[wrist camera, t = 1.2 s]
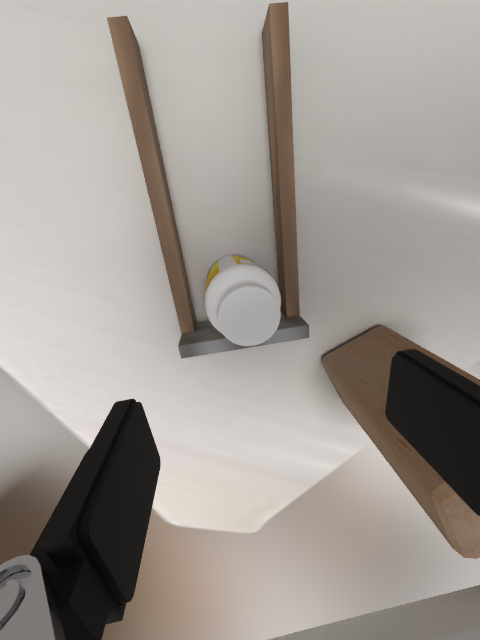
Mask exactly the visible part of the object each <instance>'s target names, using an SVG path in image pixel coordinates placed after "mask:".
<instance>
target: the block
mask: <svg viewBox="0 0 480 640" xmlns="http://www.w3.org/2000/svg"><path fill="white" fill-rule="evenodd" d="M408 349H416V350H418V351H420V352H422V353H424V354H425V355H427V356H429V357H431V358H432V359H434V360H436V361H438V362H439V363H441V364H443V365H445V366H446V367H448V368H450V369H451V370H453V371H455V372H457V373H458V374H460V375H462V376H464V377H465V378H467V379H469V380H471V381H472V382H474V383H476V384H478V385H479V386H480V380H479V379H477V378H476V377H474V376H472V375H470V374H468V373H467V372H465V371H463V370H461V369H460V368H458V367H456V366H454V365H453V364H451V363H449V362H447V361H445V360H444V359H442V358H440V357H438V356H437V355H435V354H433V353H431V352H430V351H428V350H426V349H424V348H422V347H421V346H419V345H417V344H415V343H414V342H412V341H410V340H408V339H406V338H405V337H403V336H401V335H399V334H398V333H396V332H394V331H392V330H391V329H389V328H387V327H385V326H378V327H375V328H373V329H372V330H370V331H368V332H366V333H364V334H362V335H361V336H359V337H357V338H355V339H353V340H352V341H350V342H348V343H346V344H344V345H343V346H341V347H339V348H337V349H335V350H334V351H332V352H330V353H328V354H326V355H325V356H324V357H323V358H322V359H323V365H324V367H325V369H326V371H327V373H328V375H329V377H330V379H331V381H332V382H333V384H334V386H335V388H336V390H337V392H338V394H339V396H340V398H341V400H342V401H343V403H344V404H345V406H346V407H347V408H348V410H349V411H350V412H351V414H352V415H353V416H354V418H355V419H356V420H357V422H358V423H359V424H360V426H361V427H362V428H363V430H364V431H365V432H366V434H367V435H368V436H369V438H370V439H371V440H372V442H373V443H374V444H375V445H376V447H377V448H378V450H379V451H380V452H381V454H382V455H383V456H384V458H385V459H386V460H387V462H388V463H389V464H390V465H391V467H392V468H393V469H394V471H395V472H396V473H397V475H398V476H399V477H400V479H401V480H402V481H403V483H404V484H405V485H406V487H407V488H408V489H409V491H410V492H411V493H412V495H413V496H414V497H415V499H416V500H417V501H418V503H419V504H420V505H421V507H422V508H423V509H424V511H425V512H426V513H427V515H428V516H429V517H430V519H431V520H432V521H433V523H434V524H435V525H436V527H437V528H438V529H439V531H440V532H441V533H442V535H443V536H444V537H445V539H446V540H447V541H448V543H449V544H450V545H451V547H452V548H453V549H454V550H456V551H457V552H458V553H459V554H461V555H462V556H463V557H465V558H479V557H480V516H478V515H477V514H476V513H475V512H474V511H473V510H472V509H471V508H470V507H469V506H468V505H467V504H466V503H465V502H464V501H463V500H462V499H461V498H460V497H459V496H458V494H457V493H456V492H455V491H454V490H453V489H452V488H451V487H450V486H449V485H448V484H447V483H446V482H445V481H444V480H443V479H442V478H441V476H440V475H439V474H438V473H437V472H436V471H435V470H434V469H433V468H432V467H431V466H430V465H429V464H428V463H427V462H426V461H425V459H424V458H423V457H422V456H421V455H420V454H419V453H418V452H417V451H416V450H415V449H414V448H413V447H412V446H411V445H410V444H409V442H408V441H407V440H406V439H405V438H404V437H403V436H402V435H401V434H400V433H399V432H398V431H397V430H396V429H395V428H394V427H393V425H392V424H391V423H390V422H389V421H388V419H387V417H386V414H385V409H386V401H387V393H388V385H389V376H390V368H391V360H392V357H393V356H395V353H396V352H398V351H402V350H408Z"/></svg>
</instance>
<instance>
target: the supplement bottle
mask: <svg viewBox="0 0 480 640" xmlns="http://www.w3.org/2000/svg"><path fill="white" fill-rule="evenodd" d="M280 306H281V296H280V291H279V288H278V286H277V284H276V282H275V280H274V279H273V278H272V277H271V275H269V274H268V273H267V272H266V271H265V270H263V269H262V268H261V267H259V266H258V265H257V264H255V263H254V262H253V261H252V260H250V259H248V258H246V257H244V256H241V255H228V256H225V257H222V258H220V259H219V260H217V261H216V262H215V263H214V264H213V265H212V267H211V268H210V270H209V272H208V275H207V281H206V292H205V310H206V314H207V316H208V318H209V320H210V322H211V324H212V325H213V326H214V327H215V328H216V329H217V330H218V331H219V332H220V333H222V334H223V335H224V336H225V337H226V338H227V339H228V340H229V341H231V342H232V343H234V344H237V345H241V346H254V345H258V344H261V343H263V342H265V341H266V340H268V339H269V338H270V337H271V336H272V335H273V334H274V333H275V331H276V330H277V328H278V326H279V322H280V318H281V312H280Z"/></svg>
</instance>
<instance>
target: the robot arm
mask: <svg viewBox="0 0 480 640" xmlns="http://www.w3.org/2000/svg"><path fill="white" fill-rule="evenodd" d="M385 414H386V417H387V419H388V421H389V422H390V423H391V424H392V425H393V427H394V428H395V429H396V430H397V431H398V432H399V433H400V434H401V435H402V436H403V437H404V438H405V439H406V440H407V441H408V442H409V444H410V445H411V446H412V447H413V448H414V449H415V450H416V451H417V452H418V453H419V454H420V455H421V456H422V457H423V458H424V459H425V461H426V462H427V463H428V464H429V465H430V466H431V467H432V468H433V469H434V470H435V471H436V472H437V473H438V474H439V475H440V476H441V478H442V479H443V480H444V481H445V482H446V483H447V484H448V485H449V486H450V487H451V488H452V489H453V490H454V491H455V492H456V493H457V494H458V496H459V497H460V498H461V499H462V500H463V501H464V502H465V503H466V504H467V505H468V506H469V507H470V508H471V509H472V510H473V511H474V512H475V513H476V514H477V515H478V516H480V386H479V385H478V384H476V383H474V382H472V381H471V380H469V379H467V378H465V377H464V376H462V375H460V374H458V373H457V372H455V371H453V370H451V369H450V368H448V367H446V366H445V365H443V364H441V363H439V362H438V361H436V360H434V359H432V358H431V357H429V356H427V355H425V354H424V353H422V352H420V351H418V350H416V349H408V350H402V351H398V352H396V353H395V356H393V357H392V360H391V368H390V376H389V385H388V393H387V401H386V409H385ZM159 471H160V456H159V453H158V450H157V447H156V444H155V441H154V438H153V435H152V432H151V430H150V427H149V424H148V421H147V418H146V415H145V412H144V409H143V406H142V404H141V403H140V402H136V400H135V399H129V400H124V401H118V402H116V403H115V404H114V405H113V407H112V409H111V411H110V413H109V415H108V416H107V418H106V420H105V422H104V424H103V426H102V427H101V429H100V431H99V433H98V435H97V436H96V438H95V440H94V442H93V444H92V446H91V447H90V449H89V450H88V451H87V453H86V454H85V456H84V457H83V459H82V461H81V463H80V465H79V467H78V468H77V470H76V472H75V474H74V476H73V477H72V479H71V481H70V483H69V485H68V486H67V488H66V490H65V492H64V494H63V496H62V497H61V500H60V501H59V503H58V505H57V506H56V508H55V510H54V512H53V514H52V515H51V517H50V519H49V521H48V523H47V524H46V526H45V528H44V530H43V532H42V533H41V535H40V537H39V539H38V541H37V543H36V544H35V546H34V548H33V550H32V552H31V553H30V555H26V556H18V557H16V558H14V559H11V560H9V561H7V562H5V563H3V564H2V565H1V566H0V640H101V639H102V635H103V631H104V628H105V624H109V623H113V622H117V621H122V619H123V615H124V610H125V606H126V603H127V602H130V601H131V599H132V598H133V595H134V591H135V587H136V582H137V577H138V573H139V568H140V562H141V558H142V552H143V548H144V543H145V538H146V533H147V529H148V524H149V519H150V514H151V509H152V505H153V500H154V495H155V490H156V485H157V480H158V475H159ZM269 640H480V585H479V586H474V587H470V588H466V589H462V590H458V591H454V592H451V593H447V594H443V595H439V596H435V597H431V598H428V599H423V600H420V601H415V602H412V603H407V604H404V605H400V606H396V607H392V608H388V609H384V610H380V611H376V612H372V613H369V614H365V615H361V616H357V617H354V618H349V619H345V620H342V621H338V622H334V623H330V624H326V625H322V626H318V627H314V628H311V629H307V630H303V631H299V632H295V633H292V634H288V635H284V636H280V637H276V638H273V639H269Z"/></svg>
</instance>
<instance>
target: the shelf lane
mask: <svg viewBox="0 0 480 640" xmlns="http://www.w3.org/2000/svg"><path fill="white" fill-rule="evenodd" d="M107 20H108V24H109V29H110V33H111V37H112V41H113V45H114V50H115V54H116V58H117V62H118V67H119V71H120V75H121V79H122V84H123V88H124V92H125V96H126V100H127V105H128V109H129V113H130V117H131V122H132V126H133V130H134V134H135V138H136V143H137V147H138V151H139V155H140V160H141V164H142V168H143V172H144V177H145V181H146V185H147V189H148V193H149V198H150V202H151V206H152V210H153V215H154V219H155V223H156V227H157V232H158V236H159V240H160V244H161V248H162V253H163V257H164V261H165V265H166V270H167V274H168V278H169V282H170V286H171V291H172V295H173V299H174V303H175V308H176V312H177V316H178V320H179V325H180V329H181V333H182V335H181V339H180V342H179V345H178V347H179V351H180V355H181V358H187V357H193V356H199V355H205V354H212V353H218V352H224V351H230V350H236V349H242V348H248V347H255V346H261V345H267V344H273V343H279V342H285V341H291V340H298V339H304V338H309V325H308V324H307V323H306V322H305V321H304V320H303V319H302V318H301V317H300V316H299V290H298V263H297V235H296V208H295V180H294V153H293V126H292V98H291V71H290V43H289V16H288V2H285V3H274V4H269V7H268V11H267V15H266V19H265V23H264V27H263V31H262V41H263V56H264V71H265V86H266V101H267V116H268V131H269V146H270V161H271V175H272V190H273V205H274V220H275V235H276V250H277V265H278V280H279V291H280V296H281V306H280V312H281V318H280V322H279V326H278V328H277V330H276V331H275V333H274V334H273V335H272V336H271V337H270V338H269V339H268V340H266V341H265V342H263V343H261V344H258V345H254V346H241V345H237V344H234V343H232V342H231V341H229V340H228V339H227V338H226V337H225V336H224V335H223V334H222V333H220V332H219V331H218V330H217V329H216V328H215V327H214V326H213V325H212V324H211V322H210V321H205V322H198V323H196V319H195V314H194V309H193V304H192V299H191V295H190V290H189V285H188V280H187V275H186V271H185V266H184V261H183V256H182V251H181V247H180V242H179V237H178V232H177V227H176V222H175V218H174V213H173V208H172V203H171V198H170V194H169V189H168V184H167V179H166V174H165V170H164V165H163V160H162V155H161V150H160V145H159V141H158V136H157V131H156V126H155V121H154V117H153V112H152V107H151V102H150V97H149V93H148V88H147V83H146V78H145V73H144V68H143V64H142V59H141V54H140V49H139V44H138V42H137V39H136V37H135V34H134V32H133V30H132V27H131V25H130V22H129V20H128V17H127V16H121V17H109V18H107Z"/></svg>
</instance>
